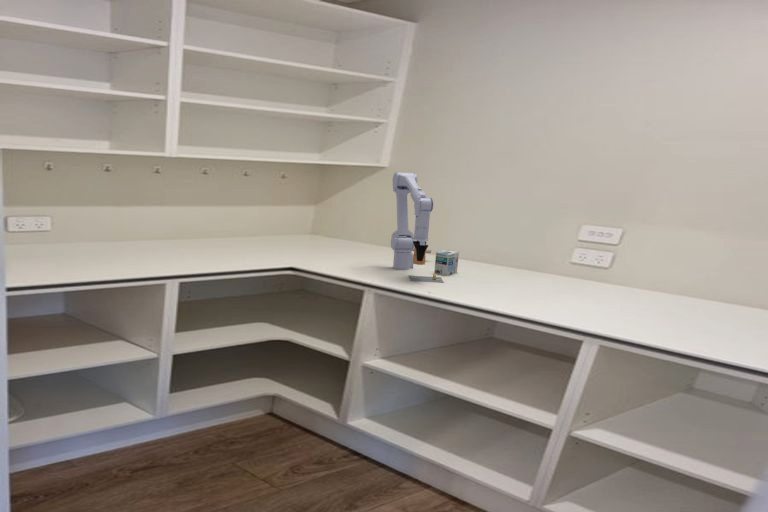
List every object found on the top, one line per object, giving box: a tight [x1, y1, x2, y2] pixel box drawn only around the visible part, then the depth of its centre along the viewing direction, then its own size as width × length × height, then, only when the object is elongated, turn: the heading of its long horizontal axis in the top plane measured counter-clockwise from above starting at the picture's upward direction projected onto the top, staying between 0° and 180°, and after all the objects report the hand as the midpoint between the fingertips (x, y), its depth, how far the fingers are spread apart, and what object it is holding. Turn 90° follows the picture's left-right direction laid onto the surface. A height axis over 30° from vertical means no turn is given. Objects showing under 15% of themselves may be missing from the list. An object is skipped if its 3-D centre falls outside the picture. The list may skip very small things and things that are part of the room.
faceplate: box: [408, 273, 445, 284], centre depth 218 cm, size 14×10×4 cm
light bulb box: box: [433, 249, 460, 277], centre depth 233 cm, size 11×7×11 cm, turn 148°
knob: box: [413, 247, 427, 266], centre depth 217 cm, size 5×5×6 cm
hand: (419, 259), depth 217 cm, fingers closed on knob, 5 cm apart
